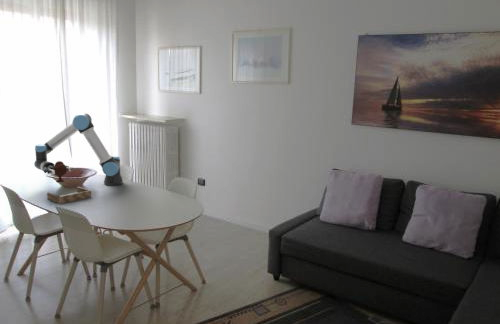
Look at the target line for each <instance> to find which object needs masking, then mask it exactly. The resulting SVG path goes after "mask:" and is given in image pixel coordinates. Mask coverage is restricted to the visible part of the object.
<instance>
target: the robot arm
mask: <svg viewBox="0 0 500 324" xmlns="http://www.w3.org/2000/svg"><path fill="white" fill-rule="evenodd" d="M94 127H95V125H94V123H93V121H92V117H91V115H90V114H89V113H86V112H81V113H78V114H76V115H74V117H73V119H72V123H70V124H69V125H68V126H66V127H65V128H64V129H63V130H61V131H59V133H57V134H56V135H54V136H52V138H50V139H49V140H48V141H47V142H45V143H44V144H36V145H35V147H34V150H35V161H34V163H33V164H34V168H36V169H38V170H40V171H42V172H44V174H47V175H50V174H52V175H54V174H55V170H52V168H53V167H54V166H55V164H54V163H53V162H50V161H48V155H49V154H50V153H51V152H52V151H54V150H55V149H57V147H58V146H60V145H62V144H63V143H64V142H65V141H67V140H68V139H70V138H71V137H72V136H73V135H75V134H76V133H78V132H79V134H81V135H83V136H84V138H85V140H87V142H88V144H89V146H90V147H91V149H92V150H93V153H94V154H95V155H96V157H97V158H98V160H99V162H98V163H99V166H100V167H101V170H102V173H103V174H104V175H105V177H104V180H103V185H105V186H110V187H111V186H112V187H113V186H119V185H122V184H123V183H124V180H123V178H122V174H121V158H120V156H113V155H110V154H109V152H108V150H107V149H106V147H105V146H104V144H103V142H102V141H101V139H100V137H99V136H98V133H96V131H95V129H94ZM65 166H66V168H68V170H67V172H69V173H71V167H70V166H69V165H65Z"/></svg>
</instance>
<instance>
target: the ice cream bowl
mask: <svg viewBox="0 0 500 324" xmlns="http://www.w3.org/2000/svg"><path fill="white" fill-rule="evenodd" d="M54 165H55V166H54V167H53V168H52V170H55V174H53V175H55V176H56V177H58V179H57V180H56V181H55V183H64V182H65V180H64V179H62V178H63V177H62V176H64V175H66V174H67V172H68V171H67V170H68V168H66V166H67V165H66V164H65V163H64V162H63V161H60V160H58V161H56V162H55V164H54Z"/></svg>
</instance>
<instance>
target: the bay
mask: <svg viewBox="0 0 500 324" xmlns="http://www.w3.org/2000/svg"><path fill="white" fill-rule="evenodd" d="M76 187H77V188H76V192H72V193H68V194H61V195H57V194H54V193H51V192H46V197H47V198H46V199H47V201H51V202H54V203H57V204H58V205H63V204H66V203H71V202H75V201H80V200H84V199H88V198H92V191H91V190H90V189H86V188H84V187H81V186H76Z"/></svg>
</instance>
